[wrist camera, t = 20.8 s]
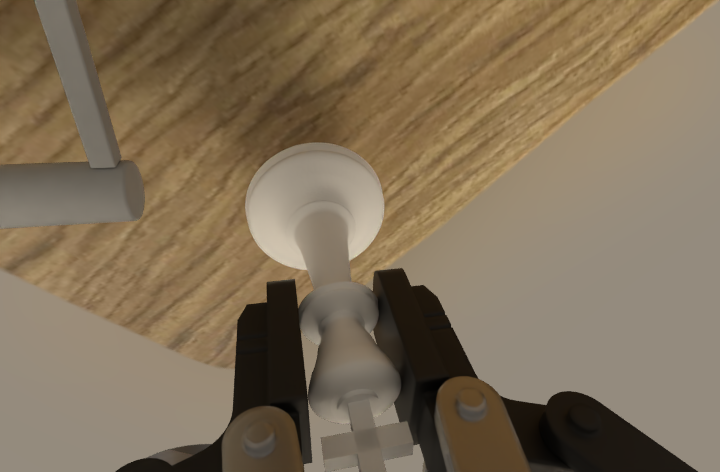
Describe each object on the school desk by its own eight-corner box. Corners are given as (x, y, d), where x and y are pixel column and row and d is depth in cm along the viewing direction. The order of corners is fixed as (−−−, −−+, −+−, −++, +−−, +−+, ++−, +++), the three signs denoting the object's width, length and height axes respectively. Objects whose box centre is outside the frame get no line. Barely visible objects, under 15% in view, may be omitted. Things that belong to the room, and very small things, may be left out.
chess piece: (233, 149, 14) (198, 440, 6) (382, 135, 15) (536, 377, 7) (257, 269, 17) (255, 578, 9) (381, 252, 17) (488, 523, 9)
